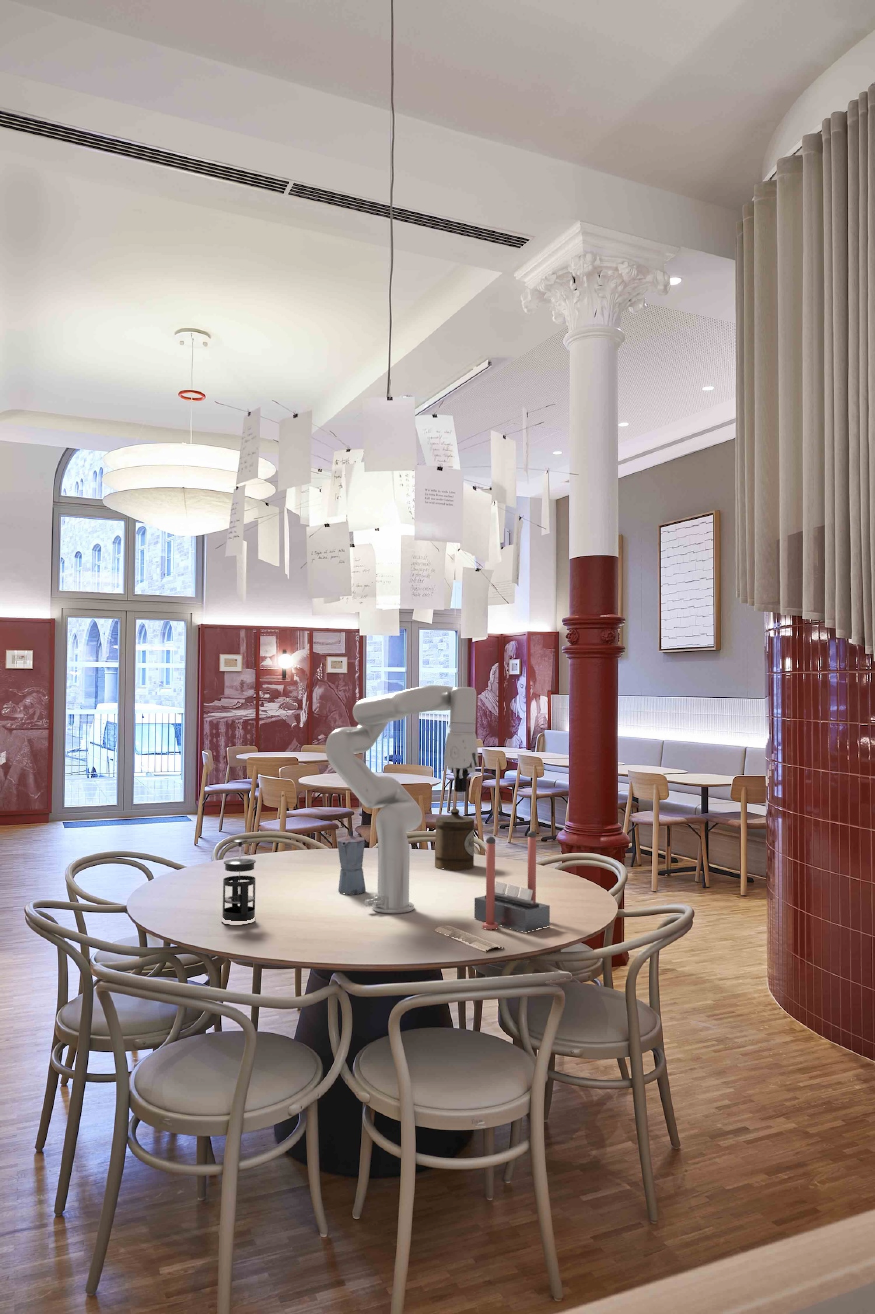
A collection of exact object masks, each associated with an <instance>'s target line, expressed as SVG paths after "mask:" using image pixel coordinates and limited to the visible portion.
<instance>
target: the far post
mask: <svg viewBox="0 0 875 1314" xmlns="http://www.w3.org/2000/svg"><path fill="white" fill-rule="evenodd" d="M536 872H537V833H536V831H535V830H529V831H528V833H527V889H530V890H533V893H532V897H531V900H532V901H533V902H537V883H536V882H537V873H536Z"/></svg>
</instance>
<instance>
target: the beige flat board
mask: <svg viewBox="0 0 875 1314" xmlns="http://www.w3.org/2000/svg"><path fill="white" fill-rule="evenodd" d="M433 931H434V932H435V931H438V932H441V933H442V934H446V935H449V936H450V937H454V938H458V939H462V941H465V942H468V943H469V944H473V945H476V946H478V948H481V949H485V950H487V951H489V950H491V949H494V948H497V947H500V948H502V947H503V948H504V949H505V947H504V946H502V945H499V944H497V943H494V942H491V941H489V940H486V939H484V938H482V937H479V936H476V935H474V934H472V933H470V932H467V931H464V930H462V929H459V928H456V927H454V926H452V925H441V926H438V927H437V928H434V930H433ZM442 934H441V935H442Z"/></svg>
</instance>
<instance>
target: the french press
mask: <svg viewBox="0 0 875 1314" xmlns="http://www.w3.org/2000/svg"><path fill="white" fill-rule="evenodd" d="M247 842H248V839H244V838H237V839H234V840H232V843H237V844H238V845H237V846H238V847H239V848H238V849H239V854H238V858H230V859H226V860H224V861H223V864H224V870H225V871H227V872H234V873H238V875H231V876H227V877H224V878H223V880H222V882H223V883H222V915H221V916H222V917H223V918H224V919H225V920H231V921H247V920H251V919H253V918H254V917H255V918H256V916H255V913H256V877H255V876H252V875H241V873H242V872H249V871H253V870H254V869H255V864H256V862H257V861H256V860H255V859H253V858H241V855H242V853H241V851H242V850H241V849H242V847H243V843H247ZM249 886H252V896H251V895H249ZM226 887H232V888H231V891H232V892H231V896H230V895H229V896H226ZM251 902H252V906H249V903H251ZM226 904H230V905H231V906H228V907H226Z"/></svg>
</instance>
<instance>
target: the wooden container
mask: <svg viewBox="0 0 875 1314" xmlns="http://www.w3.org/2000/svg"><path fill="white" fill-rule="evenodd" d="M450 813H451V814H450V815H449V816H439V817H436V819H435V839H434V840H435V844H434V867H435V868H437V867H438V868H437V869H439V868H444V869H450V870H449V871H466V869H467V870H470V868H471V869H473V868H474V865H475V862H474V861H475V859H474V858H475V839H474V838H475V836H474V835H475V834H474V833H475V831H474V830H475V829H474V828H475V819H474V818H473V817H469V816H461V815H460V810H459V809H458V808H456V807H454V808H452V809H450ZM444 869H443V870H444Z"/></svg>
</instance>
